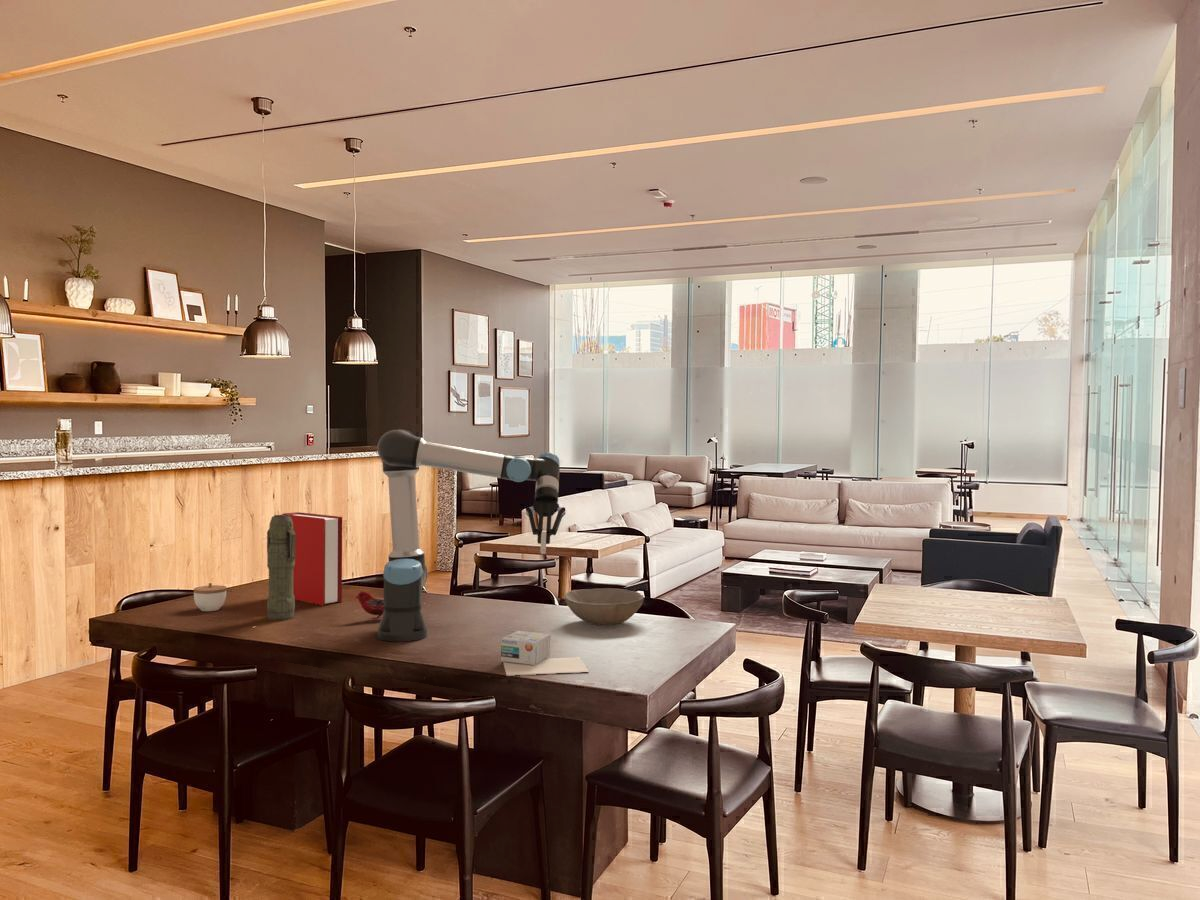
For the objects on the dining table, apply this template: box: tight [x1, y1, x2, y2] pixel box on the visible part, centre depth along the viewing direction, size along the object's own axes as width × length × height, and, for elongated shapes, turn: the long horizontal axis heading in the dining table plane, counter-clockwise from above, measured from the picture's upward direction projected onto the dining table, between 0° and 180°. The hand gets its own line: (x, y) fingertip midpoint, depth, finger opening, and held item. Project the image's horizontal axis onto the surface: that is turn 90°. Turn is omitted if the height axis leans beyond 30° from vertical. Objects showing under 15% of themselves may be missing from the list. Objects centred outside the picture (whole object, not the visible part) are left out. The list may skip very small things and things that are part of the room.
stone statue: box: [266, 514, 296, 621], centre depth 300 cm, size 9×12×35 cm
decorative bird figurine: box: [354, 590, 384, 620], centre depth 299 cm, size 3×18×10 cm, turn 108°
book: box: [281, 511, 343, 606], centre depth 332 cm, size 27×8×32 cm, turn 54°
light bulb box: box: [500, 630, 551, 666], centre depth 248 cm, size 11×7×11 cm
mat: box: [502, 656, 590, 677], centre depth 241 cm, size 22×15×1 cm
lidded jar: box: [193, 582, 228, 612], centre depth 312 cm, size 11×11×9 cm
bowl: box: [564, 587, 645, 627], centre depth 297 cm, size 26×26×10 cm
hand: (543, 551), depth 269 cm, fingers closed
